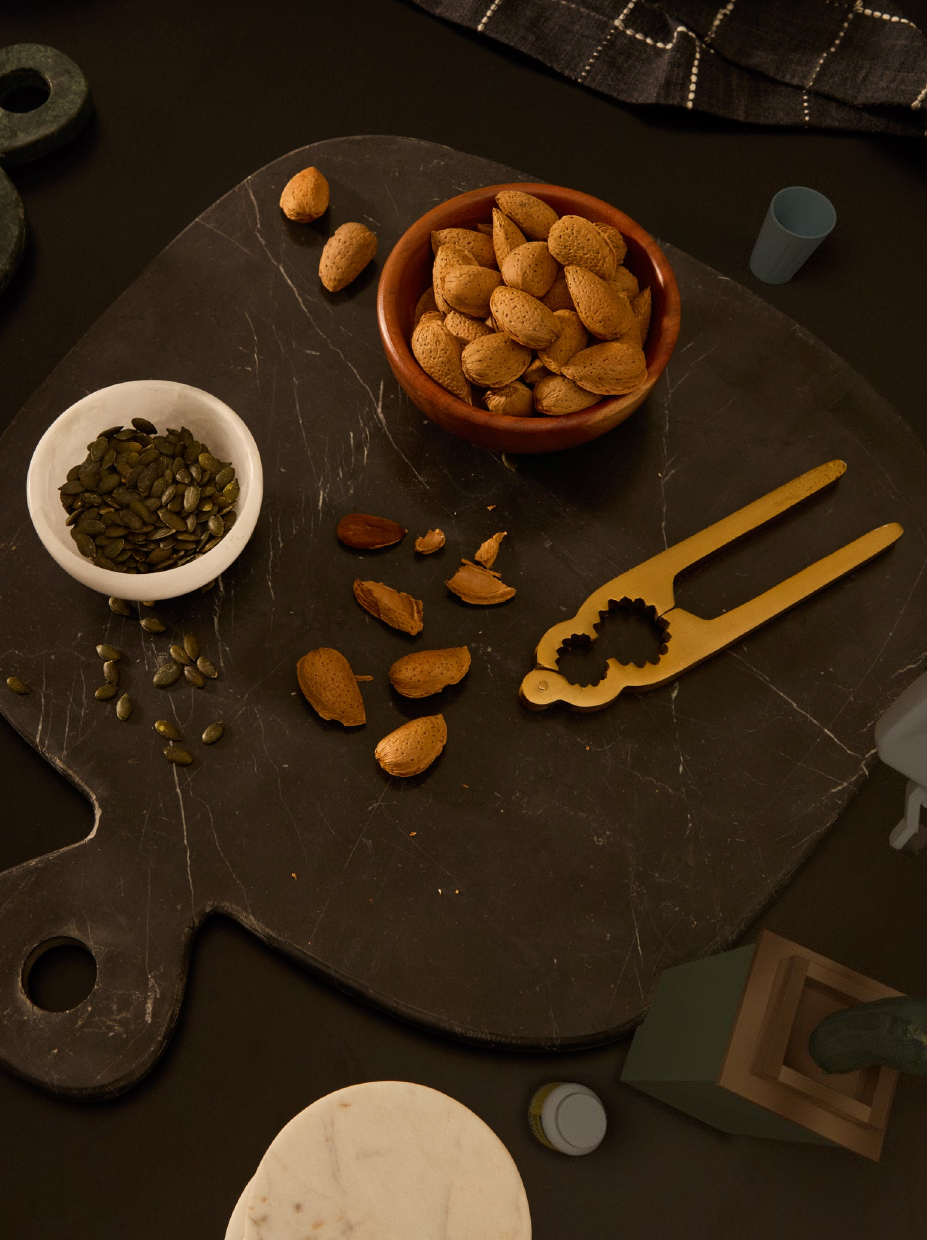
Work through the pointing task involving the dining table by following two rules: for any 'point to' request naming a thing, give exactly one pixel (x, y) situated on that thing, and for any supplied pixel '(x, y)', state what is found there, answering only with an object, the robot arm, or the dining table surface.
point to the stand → (701, 1048)
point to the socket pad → (805, 1047)
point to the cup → (791, 233)
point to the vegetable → (873, 1037)
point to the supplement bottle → (567, 1118)
